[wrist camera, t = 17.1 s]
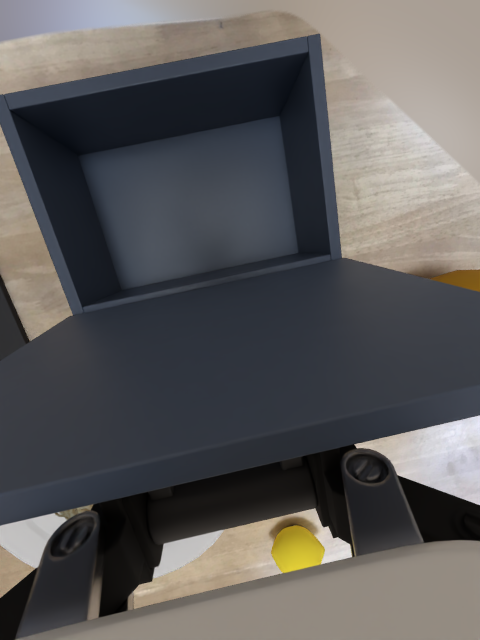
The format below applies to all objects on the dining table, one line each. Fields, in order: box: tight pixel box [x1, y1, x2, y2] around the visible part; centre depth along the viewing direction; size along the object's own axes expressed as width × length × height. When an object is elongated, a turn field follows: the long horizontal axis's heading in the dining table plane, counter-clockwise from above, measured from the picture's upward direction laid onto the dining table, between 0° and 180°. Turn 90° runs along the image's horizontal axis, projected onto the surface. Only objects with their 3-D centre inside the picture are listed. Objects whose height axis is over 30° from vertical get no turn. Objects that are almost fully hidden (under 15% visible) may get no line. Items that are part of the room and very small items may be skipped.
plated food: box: [0, 504, 224, 578], centre depth 31 cm, size 30×30×3 cm
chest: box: [0, 34, 342, 316], centre depth 22 cm, size 14×20×9 cm
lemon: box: [271, 525, 325, 573], centre depth 35 cm, size 7×5×5 cm
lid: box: [0, 258, 480, 545], centre depth 13 cm, size 14×20×5 cm
